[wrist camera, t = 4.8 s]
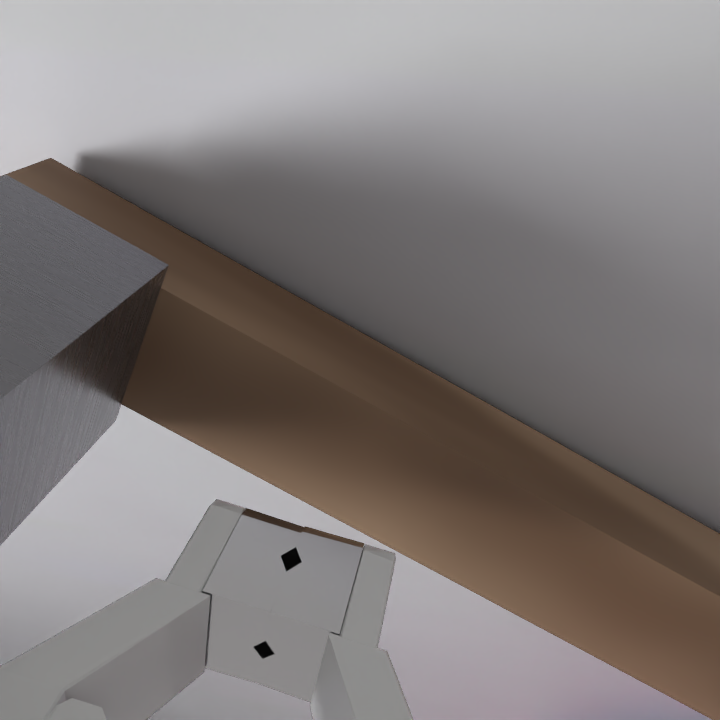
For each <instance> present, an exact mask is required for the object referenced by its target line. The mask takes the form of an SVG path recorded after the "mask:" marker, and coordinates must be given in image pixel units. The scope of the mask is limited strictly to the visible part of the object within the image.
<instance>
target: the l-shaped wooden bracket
mask: <svg viewBox="0 0 720 720" xmlns="http://www.w3.org/2000/svg"><path fill="white" fill-rule="evenodd" d="M121 404H122V405H124V406H126V407H128V408H130V409H131V410H133V411H135V412H137V413H139V414H141V415H143V416H145V417H146V418H148V419H150V420H152V421H154V422H156V423H158V424H160V425H161V426H163V427H165V428H167V429H169V430H171V431H173V432H175V433H176V434H178V435H180V436H182V437H184V438H186V439H188V440H190V441H191V442H193V443H195V444H197V445H199V446H201V447H203V448H205V449H206V450H208V451H210V452H212V453H214V454H216V455H218V456H220V457H221V458H223V459H225V460H227V461H229V462H231V463H233V464H235V465H236V466H238V467H240V468H242V469H244V470H246V471H248V472H250V473H251V474H253V475H255V476H257V477H259V478H261V479H263V480H265V481H266V482H268V483H270V484H272V485H274V486H276V487H278V488H280V489H281V490H283V491H285V492H287V493H289V494H291V495H293V496H294V497H296V498H298V499H300V500H302V501H304V502H306V503H308V504H309V505H311V506H313V507H315V508H317V509H319V510H321V511H323V512H324V513H326V514H328V515H330V516H332V517H334V518H336V519H338V520H339V521H341V522H343V523H345V524H347V525H349V526H351V527H353V528H354V529H356V530H358V531H360V532H362V533H364V534H366V535H368V536H369V537H371V538H373V539H375V540H377V541H379V542H381V543H383V544H384V545H386V546H388V547H390V548H392V549H394V550H396V551H398V552H399V553H401V554H403V555H405V556H407V557H409V558H411V559H413V560H414V561H416V562H418V563H420V564H422V565H424V566H426V567H428V568H429V569H431V570H433V571H435V572H437V573H439V574H441V575H443V576H444V577H446V578H448V579H450V580H452V581H454V582H456V583H458V584H459V585H461V586H463V587H465V588H467V589H469V590H471V591H472V592H474V593H476V594H478V595H480V596H482V597H484V598H486V599H487V600H489V601H491V602H493V603H495V604H497V605H499V606H501V607H502V608H504V609H506V610H508V611H510V612H512V613H514V614H516V615H517V616H519V617H521V618H523V619H525V620H527V621H529V622H531V623H532V624H534V625H536V626H538V627H540V628H542V629H544V630H546V631H547V632H549V633H551V634H553V635H555V636H557V637H559V638H561V639H562V640H564V641H566V642H568V643H570V644H572V645H574V646H576V647H577V648H579V649H581V650H583V651H585V652H587V653H589V654H591V655H592V656H594V657H596V658H598V659H600V660H602V661H604V662H606V663H607V664H609V665H611V666H613V667H615V668H617V669H619V670H621V671H622V672H624V673H626V674H628V675H630V676H632V677H634V678H635V679H637V680H639V681H641V682H643V683H645V684H647V685H649V686H650V687H652V688H654V689H656V690H658V691H660V692H662V693H664V694H665V695H667V696H669V697H671V698H673V699H675V700H677V701H679V702H680V703H682V704H684V705H686V706H688V707H690V708H692V709H694V710H695V711H697V712H699V713H701V714H703V715H705V716H707V717H709V718H710V719H712V720H720V534H719V533H717V532H716V531H714V530H712V529H710V528H709V527H707V526H705V525H703V524H701V523H700V522H698V521H696V520H694V519H693V518H691V517H689V516H687V515H685V514H684V513H682V512H680V511H678V510H677V509H675V508H673V507H671V506H669V505H668V504H666V503H664V502H662V501H661V500H659V499H657V498H655V497H653V496H652V495H650V494H648V493H646V492H645V491H643V490H641V489H639V488H637V487H636V486H634V485H632V484H630V483H629V482H627V481H625V480H623V479H621V478H620V477H618V476H616V475H614V474H612V473H611V472H609V471H607V470H605V469H604V468H602V467H600V466H598V465H596V464H595V463H593V462H591V461H589V460H588V459H586V458H584V457H582V456H580V455H579V454H577V453H575V452H573V451H572V450H570V449H568V448H566V447H564V446H563V445H561V444H559V443H557V442H556V441H554V440H552V439H550V438H548V437H547V436H545V435H543V434H541V433H540V432H538V431H536V430H534V429H532V428H531V427H529V426H527V425H525V424H524V423H522V422H520V421H518V420H516V419H515V418H513V417H511V416H509V415H507V414H506V413H504V412H502V411H500V410H499V409H497V408H495V407H493V406H491V405H490V404H488V403H486V402H484V401H483V400H481V399H479V398H477V397H475V396H474V395H472V394H470V393H468V392H467V391H465V390H463V389H461V388H459V387H458V386H456V385H454V384H452V383H451V382H449V381H447V380H445V379H443V378H442V377H440V376H438V375H436V374H435V373H433V372H431V371H429V370H427V369H426V368H424V367H422V366H420V365H418V364H417V363H415V362H413V361H411V360H410V359H408V358H406V357H404V356H402V355H401V354H399V353H397V352H395V351H394V350H392V349H390V348H388V347H386V346H385V345H383V344H381V343H379V342H378V341H376V340H374V339H372V338H370V337H369V336H367V335H365V334H363V333H362V332H360V331H358V330H356V329H354V328H353V327H351V326H349V325H347V324H346V323H344V322H342V321H340V320H338V319H337V318H335V317H333V316H331V315H330V314H328V313H326V312H324V311H322V310H321V309H319V308H317V307H315V306H313V305H312V304H310V303H308V302H306V301H305V300H303V299H301V298H299V297H297V296H296V295H294V294H292V293H290V292H289V291H287V290H285V289H283V288H281V287H280V286H278V285H276V284H274V283H273V282H271V281H269V280H267V279H265V278H264V277H262V276H260V275H258V274H257V273H255V272H253V271H251V270H249V269H248V268H246V267H244V266H242V265H241V264H239V263H237V262H235V261H233V260H232V259H230V258H228V257H226V256H225V255H223V254H221V253H219V252H217V251H216V250H214V249H212V248H210V247H208V246H207V245H205V244H203V243H201V242H200V241H198V240H196V239H194V238H192V237H191V236H189V235H187V234H185V233H184V232H182V231H180V230H178V229H176V228H175V227H173V226H171V225H169V224H168V223H166V222H164V221H162V220H160V219H159V218H157V217H155V216H153V215H152V214H150V213H148V212H146V211H144V210H143V209H141V208H139V207H137V206H136V205H134V204H132V203H130V202H128V201H127V200H125V199H123V198H121V197H120V196H118V195H116V194H114V193H112V192H111V191H109V190H107V189H105V188H103V187H102V186H100V185H98V184H96V183H95V182H93V181H91V180H89V179H87V178H86V177H84V176H82V175H80V174H79V173H77V172H75V171H73V170H71V169H70V168H68V167H66V166H64V165H63V164H61V163H59V162H57V161H55V160H54V159H52V158H49V159H46V160H44V161H41V162H38V163H35V164H33V165H30V166H27V167H25V168H22V169H19V170H16V171H14V172H11V173H8V174H5V175H3V176H0V545H1V544H2V543H3V542H4V541H5V540H6V539H7V538H8V537H9V535H10V534H11V533H12V532H13V531H14V530H15V529H16V528H17V527H18V526H19V525H20V524H21V522H22V521H23V520H24V519H25V518H26V517H27V516H28V515H29V514H30V513H31V512H32V511H33V509H34V508H35V507H36V506H37V505H38V504H39V503H40V502H41V501H42V500H43V499H44V498H45V496H46V495H47V494H48V493H49V492H50V491H51V490H52V489H53V488H54V487H55V486H56V485H57V483H58V482H59V481H60V480H61V479H62V478H63V477H64V476H65V475H66V474H67V473H68V472H69V471H70V469H71V468H72V467H73V466H74V465H75V464H76V463H77V462H78V461H79V460H80V459H81V458H82V456H83V455H84V454H85V453H86V452H87V451H88V450H89V449H90V448H91V447H92V446H93V445H94V443H95V442H96V441H97V440H98V439H99V438H100V437H101V436H102V435H103V434H104V433H105V432H106V430H107V429H108V428H109V427H110V426H111V425H112V424H113V423H114V422H115V421H116V418H117V415H118V412H119V409H120V407H121Z"/></svg>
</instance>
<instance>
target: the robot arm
mask: <svg viewBox="0 0 720 720" xmlns="http://www.w3.org/2000/svg"><path fill="white" fill-rule="evenodd" d="M363 546H364V543H361V542H357V541H354V540H350V539H347V538H343V537H340V536H336V535H333V534H329V533H326V532H323V531H319V530H316V529H312V528H309V527H302V526H299V525H296V524H293V523H290V522H287V521H283V520H280V519H277V518H274V517H271V516H268V515H265V514H262V513H259V512H256V511H253V510H250V509H247V508H243V507H240V506H237V505H234V504H231V503H228V502H225V501H221V500H218V499H216V500H215V501H214V502H213V503H212V504H211V505H210V506H209V508H208V509H207V511H206V513H205V514H204V516H203V518H202V520H201V521H200V523H199V525H198V526H197V528H196V530H195V531H194V533H193V535H192V536H191V538H190V540H189V542H188V543H187V545H186V547H185V548H184V550H183V552H182V553H181V555H180V557H179V558H178V560H177V562H176V564H175V565H174V567H173V569H172V570H171V572H170V574H169V575H168V577H167V579H166V580H165V581H164V580H161V579H157V578H156V579H154V580H152V581H150V582H149V583H147V584H145V585H143V586H142V587H140V588H138V589H136V590H134V591H133V592H131V593H129V594H127V595H126V596H124V597H122V598H120V599H119V600H117V601H115V602H113V603H112V604H110V605H108V606H106V607H104V608H103V609H101V610H99V611H97V612H96V613H94V614H92V615H90V616H89V617H87V618H85V619H83V620H82V621H80V622H78V623H76V624H74V625H73V626H71V627H69V628H67V629H66V630H64V631H62V632H60V633H59V634H57V635H55V636H53V637H52V638H50V639H48V640H46V641H44V642H43V643H41V644H39V645H37V646H36V647H34V648H32V649H30V650H29V651H27V652H25V653H23V654H22V655H20V656H18V657H16V658H14V659H13V660H11V661H9V662H7V663H6V664H4V665H2V666H0V720H147V719H148V718H149V717H150V716H152V715H153V714H154V713H155V712H156V711H158V710H159V709H160V708H161V707H162V706H164V705H165V704H166V703H167V702H168V701H170V700H171V699H172V698H173V697H175V696H176V695H177V694H178V693H179V692H181V691H182V690H183V689H184V688H185V687H187V686H188V685H189V684H190V683H191V682H193V681H194V680H195V679H196V678H197V677H199V676H200V675H201V674H202V673H204V669H205V668H207V669H210V670H213V671H217V672H220V673H224V674H227V675H230V676H234V677H237V678H241V679H244V680H247V681H251V682H254V683H259V684H260V685H263V686H266V687H269V688H272V689H274V690H277V691H280V692H283V693H286V694H288V695H291V696H294V697H297V698H300V699H302V700H305V701H308V702H311V704H310V707H311V712H312V717H313V720H413V718H412V715H411V713H410V710H409V707H408V705H407V702H406V699H405V697H404V694H403V692H402V689H401V686H400V684H399V681H398V679H397V676H396V673H395V671H394V668H393V665H392V663H391V660H390V658H389V655H388V652H387V651H385V650H382V649H380V648H378V643H379V638H380V633H381V629H382V624H383V619H384V614H385V609H386V604H387V599H388V595H389V590H390V585H391V580H392V575H393V570H394V565H395V560H396V557H395V553H392V552H389V551H386V550H382V549H379V548H376V547H372V546H369V545H366V544H365V546H364V547H363ZM362 550H363V551H362Z"/></svg>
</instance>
